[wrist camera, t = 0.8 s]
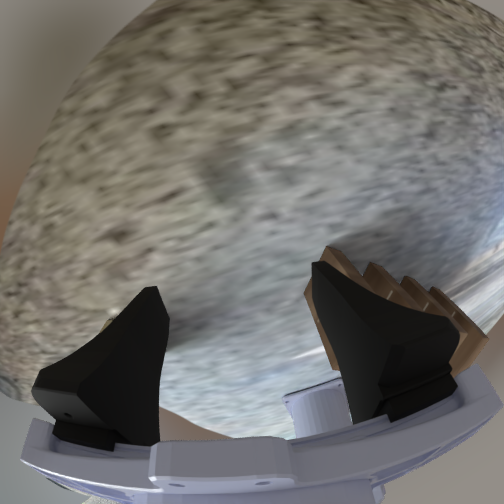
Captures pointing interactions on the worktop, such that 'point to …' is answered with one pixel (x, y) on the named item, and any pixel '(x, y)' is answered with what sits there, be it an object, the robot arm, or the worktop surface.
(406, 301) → the walnut tile
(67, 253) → the worktop surface
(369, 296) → the robot arm
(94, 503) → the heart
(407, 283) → the walnut tile
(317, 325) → the walnut tile
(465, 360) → the walnut tile
